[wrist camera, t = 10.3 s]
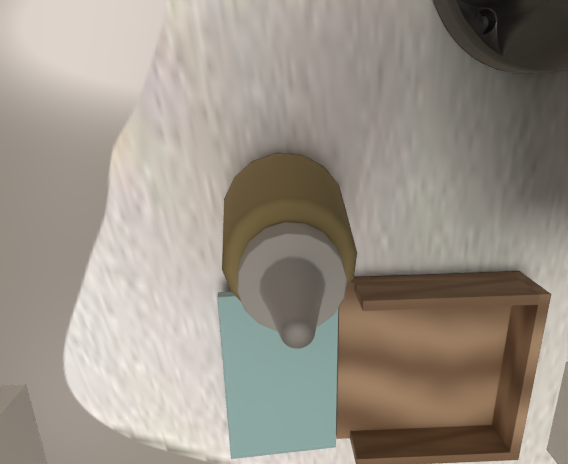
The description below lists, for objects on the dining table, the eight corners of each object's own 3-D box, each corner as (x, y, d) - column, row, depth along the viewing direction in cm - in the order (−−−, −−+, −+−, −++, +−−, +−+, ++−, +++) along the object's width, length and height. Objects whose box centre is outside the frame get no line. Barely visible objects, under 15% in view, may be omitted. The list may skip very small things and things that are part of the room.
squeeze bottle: (351, 162, 30) (456, 254, 13) (318, 262, 33) (370, 448, 16) (243, 132, 29) (204, 187, 12) (217, 236, 32) (154, 404, 15)
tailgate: (336, 283, 32) (217, 292, 31) (338, 288, 31) (217, 297, 30) (333, 439, 37) (231, 451, 36) (335, 447, 36) (231, 458, 35)
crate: (337, 277, 33) (346, 301, 29) (519, 271, 33) (551, 294, 30) (335, 430, 38) (342, 467, 34) (493, 423, 38) (518, 459, 34)
